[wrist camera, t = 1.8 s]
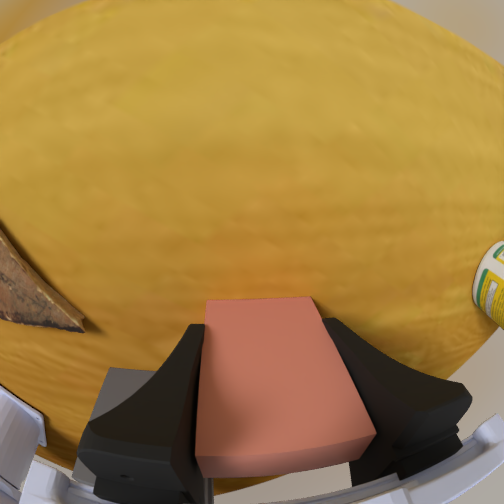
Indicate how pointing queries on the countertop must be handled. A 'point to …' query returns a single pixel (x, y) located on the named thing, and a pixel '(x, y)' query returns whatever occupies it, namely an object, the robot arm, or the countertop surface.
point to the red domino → (274, 392)
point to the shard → (31, 295)
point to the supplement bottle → (491, 284)
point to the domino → (111, 405)
